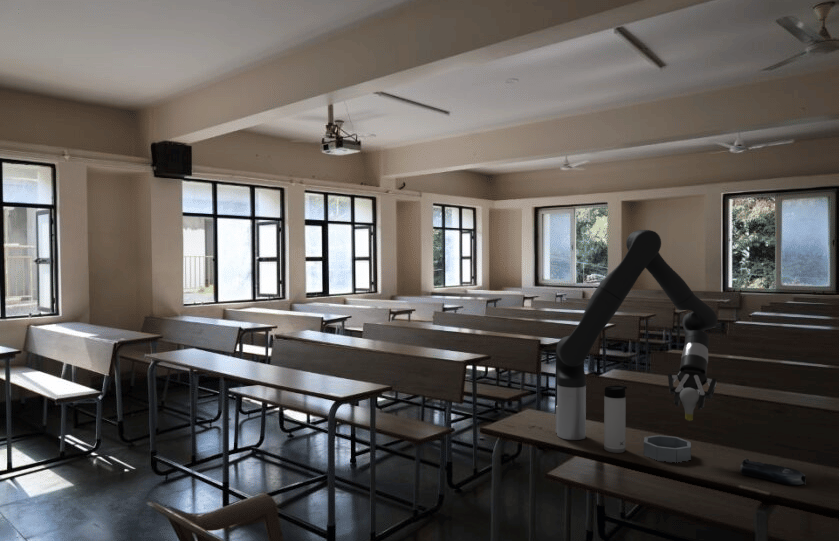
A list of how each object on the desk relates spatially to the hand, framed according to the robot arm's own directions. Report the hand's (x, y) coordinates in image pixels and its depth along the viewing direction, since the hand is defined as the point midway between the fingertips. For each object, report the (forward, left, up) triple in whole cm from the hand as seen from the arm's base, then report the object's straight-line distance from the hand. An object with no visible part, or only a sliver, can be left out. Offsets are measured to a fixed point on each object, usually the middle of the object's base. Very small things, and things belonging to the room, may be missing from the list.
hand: (688, 406), depth 179 cm
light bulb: (-1, +1, -5) cm, 5 cm away
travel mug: (-14, -15, -16) cm, 26 cm away
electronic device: (+21, +9, -16) cm, 28 cm away
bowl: (-4, -4, -15) cm, 16 cm away
